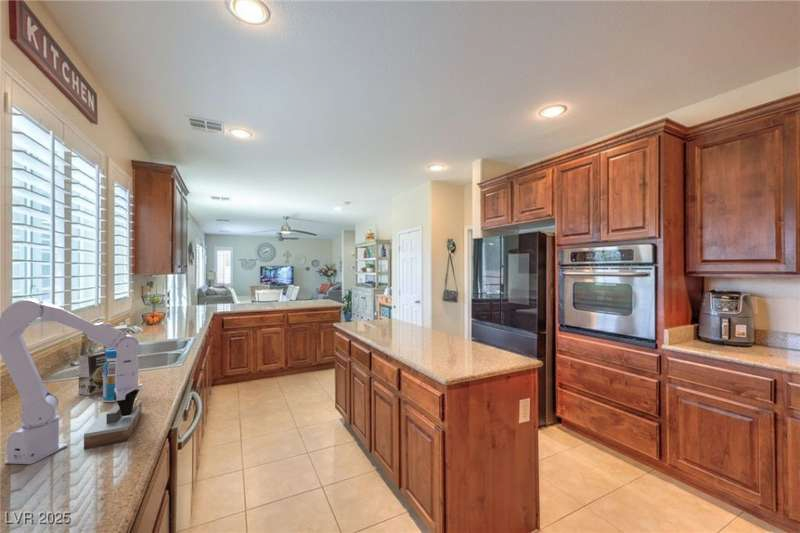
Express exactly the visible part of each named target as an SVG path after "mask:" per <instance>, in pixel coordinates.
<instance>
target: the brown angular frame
mask: <svg viewBox="0 0 800 533" xmlns="http://www.w3.org/2000/svg"><path fill="white" fill-rule="evenodd" d="M142 403H143V400H142V399H141V400H138V405H137V407H140V410H139V412H138V413H137V415H136V417H135V418H134V420H133V422H132V423H131V425H130V426H129V428H128V430H123V431H117V432H111V433H106V434H100V435H95V436H89V437H84V436H83V450H87V449H92V448H98V447H99V448H100V447H104V446H109V445H114V444H118V443H125V442H128V441H129V439H130V437H131V435H132V434H133V433H134V431H135V429H136V428H137V425H138V424H139V422H140V421H141V415H142V412H143V411H142V410H143V409H142V408H143V404H142Z"/></svg>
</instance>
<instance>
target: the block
mask: <svg viewBox="0 0 800 533" xmlns="http://www.w3.org/2000/svg"><path fill="white" fill-rule="evenodd" d="M138 398H139V397H136V398H135V401H134V405H133V410H132V411H134V410H135V408H136V407H137V405H138V401H139V399H138Z"/></svg>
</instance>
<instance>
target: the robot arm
mask: <svg viewBox="0 0 800 533" xmlns="http://www.w3.org/2000/svg"><path fill="white" fill-rule="evenodd" d="M38 318H40V319H39V322H41V323H43V322H57V323H60V324H62V325H65V326H67V327H70V328H72V329H74V330H77V331H80V332H83V333H85V334H86V337H87V340H89V341H91V342H94V343H97V344H99V345H101V346H103V347H106V348H108V349H111V348H115V351H116V352H117V359H116V360H115V389H114V391H115V393H116V395H115V396H114V399H115V401H116V403H117V406H119V407H120V411H121V414H122V416H128V415H131V413H132V410H133V405H134V401H135V398H137V395H138V394H139V391H140V389H139V388H142V387H143V384H144V383H139V357H138V356H139V351H138V350H139V348H140V343H139V341H138V338H137V337H136V336H135V335H133V333H128V331H126V330H123V331H122V330H120V329H118V328H116V327H114V326H112V325H113V324H112V323H110V322H106V323H104V322H97V323H93V322H91V321H89V320H87V319H85V318H83V317H81V316H79V315H77V314H75V313H72V312H71V311H69V310H67V309H64V307H63V308H62V307H60V306H59V305H55V304H53V303H50V302H46V301H45V302H43V301H42V300H40V299H39V298H36V297H26V298H23V299H20V300H18V301H15V302H12V303H11V304H10V305H8V306H7V307H6V309H5V310H3V311H2V312H1V313H0V357H1V358H2V361H3V363H4V365H5V367H6V369H7V372H8V373H9V375H10V377H11V379H12V382H13V384H14V386H15V389H16V391H17V392H18V395H19V401H20V406H21V409H22V412H21V419H20V420H21V421H22V423H21V426H20V427H19V429H17V430H16V431H14V432H12V433H11V434H10V435H9V436H8V438H7V442H6V443H7V449H6V450H7V451H6V452H7V454H6V455H7V457H6V460H5V461H4V463H5V464H20V465H32V464H34V463H36V462H38V461H40V460H42V459H44V458H46V457H48V456H50V455H53V454H54V453H56V452H58V451H60V450H62V449H64V448H66V447H68V445H69V444H68V443H60V442H59V441H60V415H59V414H57V413H56V408H57V407H58V405H59V398H58V397H57V396H56V395H54V394H53V393H52V392H50V390H49V388H48V387H47V386H46V384H44V381H43V379H42V377H41V375H40V372H39V370H38V369H37V367H36V363H35V362H34V358H32V354H31V352H30V351H29V348H28V346H27V344H26V342H25V339H24V337H23V333H24V332H25V331H27V329H28V328H29V326H30V324H32V323H33V322H35V321H36V320H38Z"/></svg>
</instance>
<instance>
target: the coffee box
mask: <svg viewBox="0 0 800 533" xmlns="http://www.w3.org/2000/svg"><path fill="white" fill-rule="evenodd" d="M105 352H106V350H101V351H96V352H91V353H86V354H81V355H78V392H77V393H78V395H81V394H82V396H93V395H95V394H99V393H101V392H102V393H103V376H102V375H103V372H104V369H103V366H104V364H105V362H106V361H107V360H108V359H106V357H105Z"/></svg>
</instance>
